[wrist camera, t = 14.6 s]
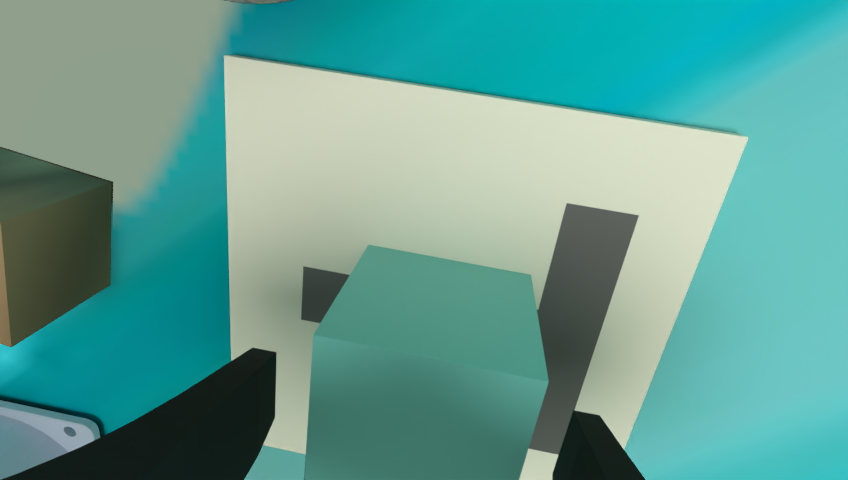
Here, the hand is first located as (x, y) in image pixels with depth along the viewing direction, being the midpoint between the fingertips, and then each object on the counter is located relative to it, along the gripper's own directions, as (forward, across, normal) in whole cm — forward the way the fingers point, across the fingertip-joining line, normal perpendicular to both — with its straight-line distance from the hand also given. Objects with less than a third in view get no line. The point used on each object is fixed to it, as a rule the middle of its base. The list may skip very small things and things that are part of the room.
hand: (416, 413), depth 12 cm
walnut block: (+3, +12, 0) cm, 12 cm away
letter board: (+5, 0, 0) cm, 5 cm away
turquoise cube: (+4, 0, 0) cm, 4 cm away
